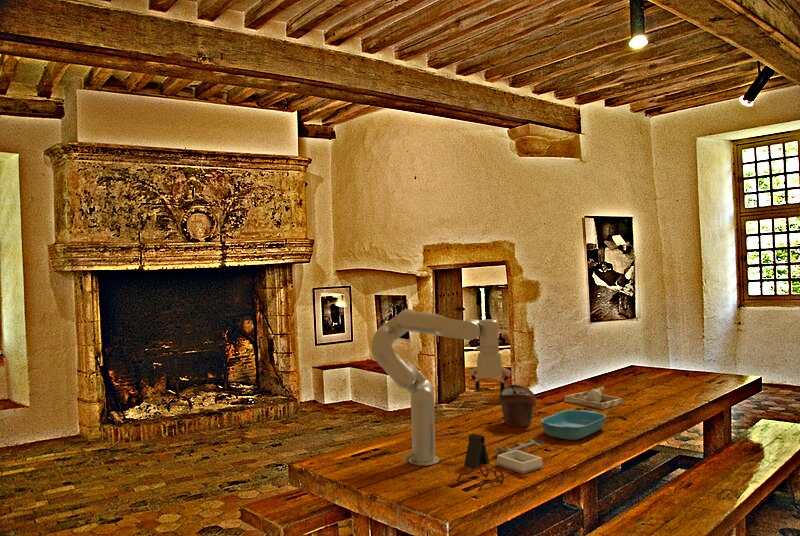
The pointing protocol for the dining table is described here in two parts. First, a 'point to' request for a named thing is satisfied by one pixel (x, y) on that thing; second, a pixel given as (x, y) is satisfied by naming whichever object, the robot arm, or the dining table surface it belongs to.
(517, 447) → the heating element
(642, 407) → the dining table surface
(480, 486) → the glasses
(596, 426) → the casserole dish
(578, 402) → the cheese board rim
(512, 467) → the cream rectangular tray
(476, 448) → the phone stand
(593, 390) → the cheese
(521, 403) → the brown bucket
